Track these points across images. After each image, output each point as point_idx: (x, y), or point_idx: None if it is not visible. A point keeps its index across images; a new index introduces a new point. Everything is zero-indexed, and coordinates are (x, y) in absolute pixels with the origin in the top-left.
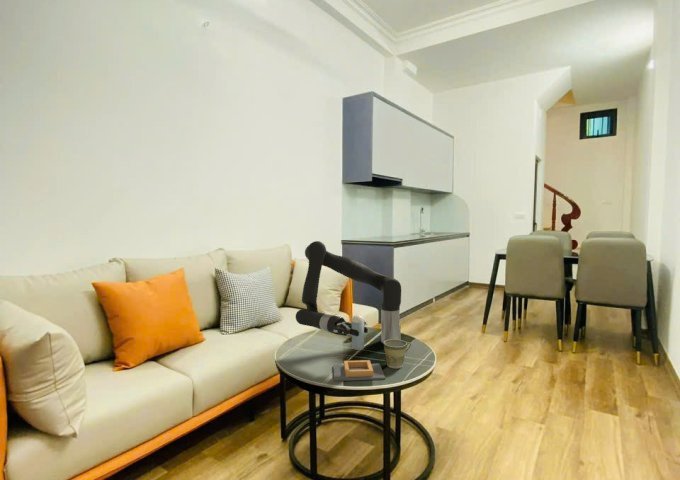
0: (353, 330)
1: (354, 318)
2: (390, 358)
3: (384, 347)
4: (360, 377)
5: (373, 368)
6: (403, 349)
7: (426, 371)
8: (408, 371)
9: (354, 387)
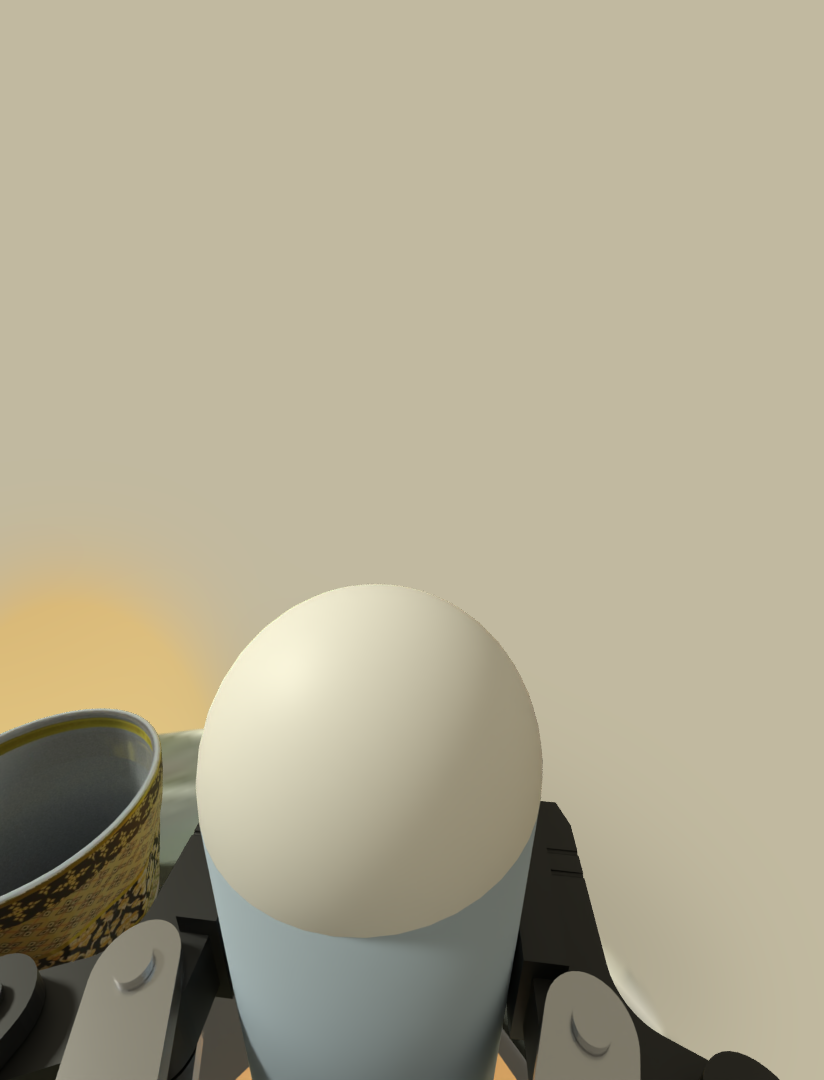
0: (548, 880)
1: (515, 681)
2: (146, 878)
3: (71, 896)
4: (499, 1049)
5: (241, 1067)
6: (130, 735)
7: (175, 732)
8: (195, 801)
9: (639, 999)
